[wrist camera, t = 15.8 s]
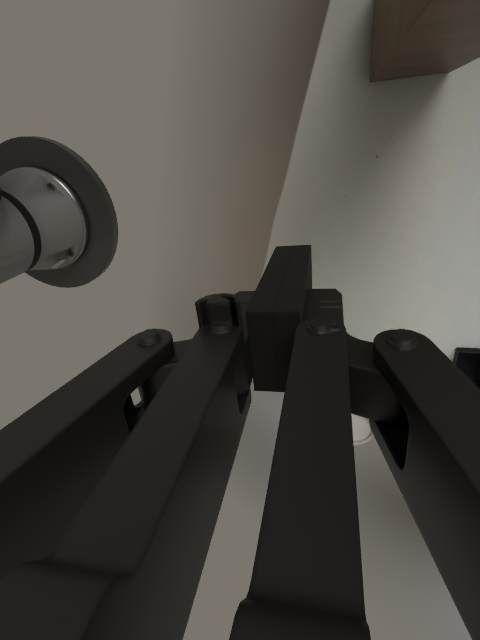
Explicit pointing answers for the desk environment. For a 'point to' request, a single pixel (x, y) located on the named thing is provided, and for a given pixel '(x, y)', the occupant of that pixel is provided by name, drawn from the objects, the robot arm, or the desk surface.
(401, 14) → the button post
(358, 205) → the desk surface
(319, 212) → the desk surface
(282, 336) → the robot arm
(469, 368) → the bracket
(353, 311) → the desk surface
